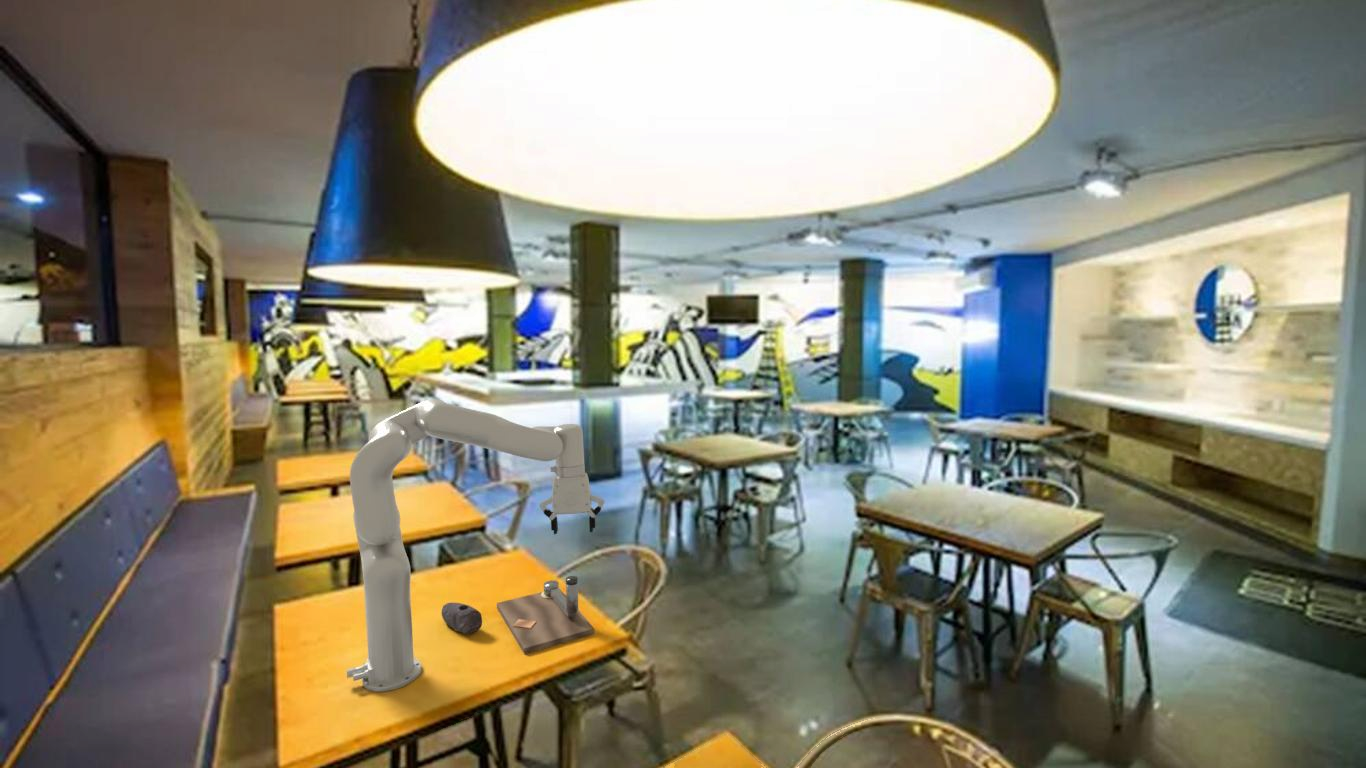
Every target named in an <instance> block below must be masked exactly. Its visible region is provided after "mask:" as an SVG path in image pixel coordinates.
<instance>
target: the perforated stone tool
mask: <svg viewBox="0 0 1366 768" xmlns="http://www.w3.org/2000/svg"><path fill="white" fill-rule="evenodd" d="M441 618H442V620H443V621H444V623H445V624H446V625H447V626H449V627H450V628H452V630H453V629H454V630H455V631H457V632H459V633H461V632H462V633H464V634H466V635H468V634H471V633H473V632H474V633H475V632H477V631H478V630H480V629H481V627H482V626H483V618H482V613H481V611H479V610H478V609H476V608H474V607H473V606H471V605H469V604H464V603H460V602H446V603H445V604H444V605H443V606H442V608H441Z"/></svg>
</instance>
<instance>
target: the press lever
mask: <svg viewBox="0 0 1366 768" xmlns="http://www.w3.org/2000/svg"><path fill="white" fill-rule="evenodd" d="M578 583H579V579H578V576H576V575H570V576H567V577H566V578H565V595H566V597H565V596H564V595H563V594H562V592H563V591H562V590H561V591H562V592H561V591H560V590H559V588H560V587H559V585H560V584H559V582H558V581H557V580H548V581H546V582H544V583H543V591H544V594H545V595H548V596H551V597H552V598H553V600H554V601H555V602H556V603H557V605H558V606H559V607H560V608H561V609H562V611H563V612H564V613H565V614H566V616H567V617H572V616H576V612H577V611H578V610H579V584H578Z"/></svg>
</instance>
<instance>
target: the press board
mask: <svg viewBox="0 0 1366 768" xmlns="http://www.w3.org/2000/svg"><path fill="white" fill-rule="evenodd" d="M559 590H560V591H561V592H562V594H563V595H564V596H565V597H566V593H564V591H563V590H562V589H561V588H560V587H559ZM496 609H497V611H498V613H499V614H500V615H501V618H502V620H503V621H504V622H505V624H506V626H507V627H508V629H509V631H510V633H511V635H512V636H513V638H514V639H515V641H516V642H517V645H518V646H519V648H520V650H521V651H522V652H523V654H524V655H528V654H530V653H533V652H538V651H539V650H540V651H541V650H543V649H547V648H551V647H555V646H557V645H561V644H565V643H568V642H571V641H575V640H577V639H581V638H586V637H589V636H593V635H594V634H595V628H594V626H593V625H592V624H591V623H590V621H589V620H587V618H586V617H585V616H584V615H583V614H582V612H581V611H580V610H579V609H578V611H577V612H576V616H572V617H567V616H566V614H565V613H564V612H563V611H562V609H561V608H560V607H559V606H558V605H557V603H556V602H555V601H554V600H553V598H552V597H551V596H548V595H545V594H544V590H543V591H541V592H537V593H533V594H529V595H525V596H520V597H517V598H516V597H515V598H513V599H507V600H504V601H503V600H502V601H500V602H497V603H496Z"/></svg>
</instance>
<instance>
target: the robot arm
mask: <svg viewBox="0 0 1366 768" xmlns="http://www.w3.org/2000/svg"><path fill="white" fill-rule="evenodd" d="M583 432H584V431H583V427H582V426H581V425H580V424H577V423H565V424H559V425H557V426H554V425H553V426H545V425H544V426H543V425H542V426H533V427H529V426H526V425H523V424H518V423H516V422H513V421H510V420H507V419H506V418H503V416H499V415H496V414H494V413H489V412H486V411H480V410H476V409H472V408H468V407H467V408H466V407H463V406H460V405H459V406H458V405H454V404H451V403H446V402H445V401H444V400H441V399H439V398H430V399H426V400H424V401H421V402H419V403H417V404H415V405H413V406H411V407H409V408H407V409H405V410H403V411H401V412H399V413H397V414H395V415H391V416H390V417H388V418H386V419H384V420H382V421H380V422H379V423H377V424H376V425H375V426H374V427H373V428H372V429H371V430H370V432H369V435H368V442H367V443H365V444H364V446H363V447H361V448H360V449H359V450H358V452H357V453H356V455H355V456H354V459H353V460H352V463H351V465H350V469H349V470H350V471H349V483H350V484H349V485H350V490H351V491H350V492H351V496H352V497H351V498H352V505H353V524H354V528H355V534H356V538H357V539H356V540H357V543H358V544H357V545H358V549H359V553H360V554H359V555H360V560H361V568H362V569H361V570H362V577H363V590H364V606H365V622H366V623H365V625H366V637H367V638H366V639H367V640H366V641H367V653H368V655H367V658H366V662H365V663H362V664H361V665H360V666H356V667H355V666H354V667H351V668H346V675H347V676H346V678H347V679H349V678H352V679H353V680H352V681H353V682H355V681H359V680H361V682H362V686H363V688H365V689H366V690H368V691H371V692H376V693H377V692H389V691H394V690H397V689H401V688H403V687H404V686H407V685H408V684H410V683H411V682H413V681H414V680H415V679H417V678H418V677H419V676H420V674H421V672H422V663H421V661H420V660H418V659H417V658H416V657H414V639H413V622H412V620H413V619H412V618H413V617H412V603H411V601H412V600H411V563H410V561H409V557H408V556H407V553H406V549H405V546H404V543H403V537H402V530H401V526H400V525H401V516H400V511H399V508H398V506H397V501H396V496H395V489H394V481H393V473H394V470H395V469H396V467H397V466H398V465H399V464H401V462H403V461H404V460H405V459H406V458H407V457H408V456H409V455H410V453H411V450H412V445H413V444H416V443H418V442H420V441H422V440H424V439H425V438H427V437H433V438H436V439H441V440H445V441H451V442H456V443H460V444H465V445H470V446H474V447H475V446H476V447H479V448H484V449H487V450H491V451H495V452H500V453H504V454H509V455H512V456H517V457H520V458H525V459H530V460H534V461H540V462H541V461H542V462H553V461H554V460H555V466H551V467H550V473H555V475H554V476H553V478H552V479H553V480H552V489H551V491H552V492H551V493H552V494H551V495H552V496H550V497H549V498H547V499H545V500H543V501H541V502H540V503H539V508H540V509H541V511H542V512H543V514H544V515H545V516H546V517H547V518H549V520H550V527H551V528H550V529H551V531H553V535H557V533H558V531H559V526H558V525H559V524H558V517H557V516H558V515H570V514H572V515H573V514H585V513H586V514H587V515H589V516H588V517H589V519H588V521H589V533H593V531H594V529H596V516H597V515H598V514H599V513H600V512H601V511H602V509H603V507H604V504H605V499H604V498H602V497H600V496H597V495H595V494H592V493H591V485H590V484H591V483H590V481H589V476H588V473H587V472H586V470H585V469H586V467H585V450H584V433H583ZM592 502H595V503H596V504H597V506H596V507H595V508H593V507H592ZM550 504H551V505H552V507H551V508H552V511H551V509H550V508H548V505H550Z"/></svg>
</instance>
